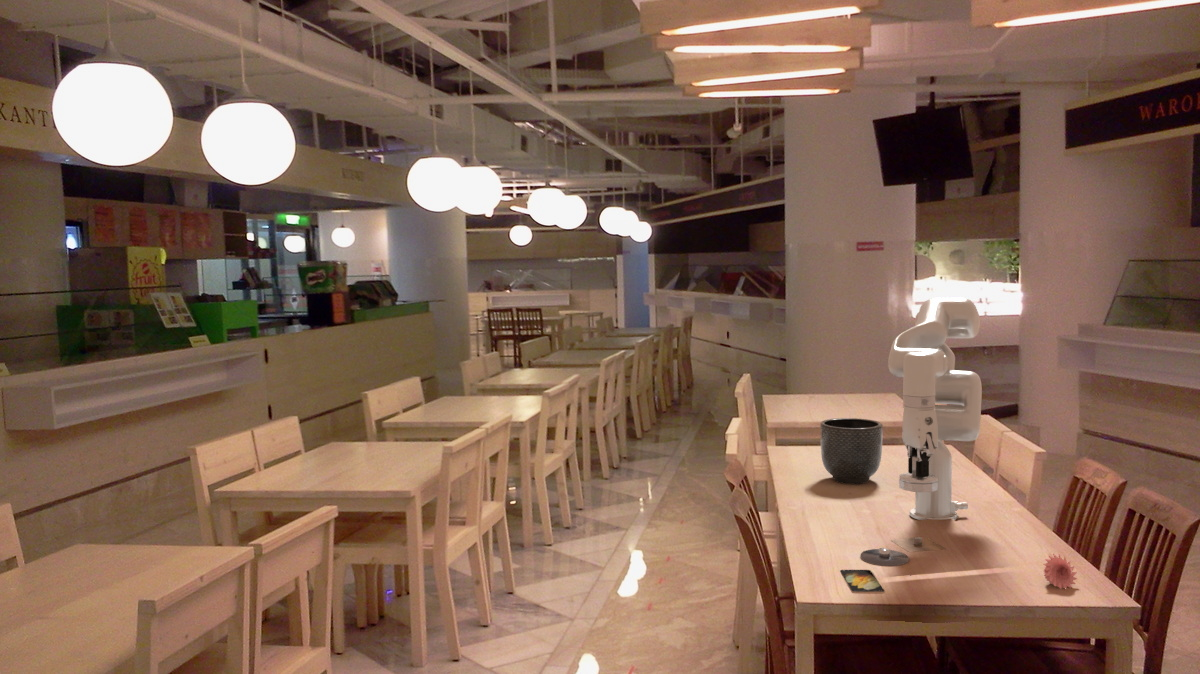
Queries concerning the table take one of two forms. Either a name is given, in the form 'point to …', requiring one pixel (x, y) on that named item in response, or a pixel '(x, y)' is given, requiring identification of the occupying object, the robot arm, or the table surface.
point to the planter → (851, 448)
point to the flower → (1059, 572)
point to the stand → (918, 544)
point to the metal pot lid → (884, 557)
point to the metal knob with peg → (917, 481)
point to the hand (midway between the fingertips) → (918, 474)
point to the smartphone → (862, 581)
